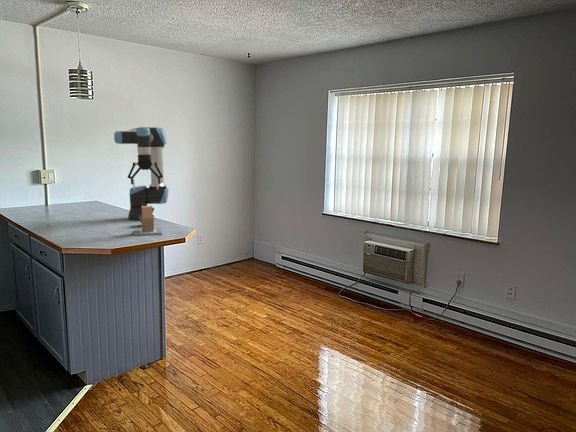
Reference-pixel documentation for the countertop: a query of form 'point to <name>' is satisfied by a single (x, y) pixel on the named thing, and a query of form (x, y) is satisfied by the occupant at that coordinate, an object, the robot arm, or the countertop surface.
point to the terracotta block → (147, 212)
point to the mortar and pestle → (141, 215)
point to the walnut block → (147, 225)
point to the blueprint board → (139, 232)
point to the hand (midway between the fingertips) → (146, 189)
